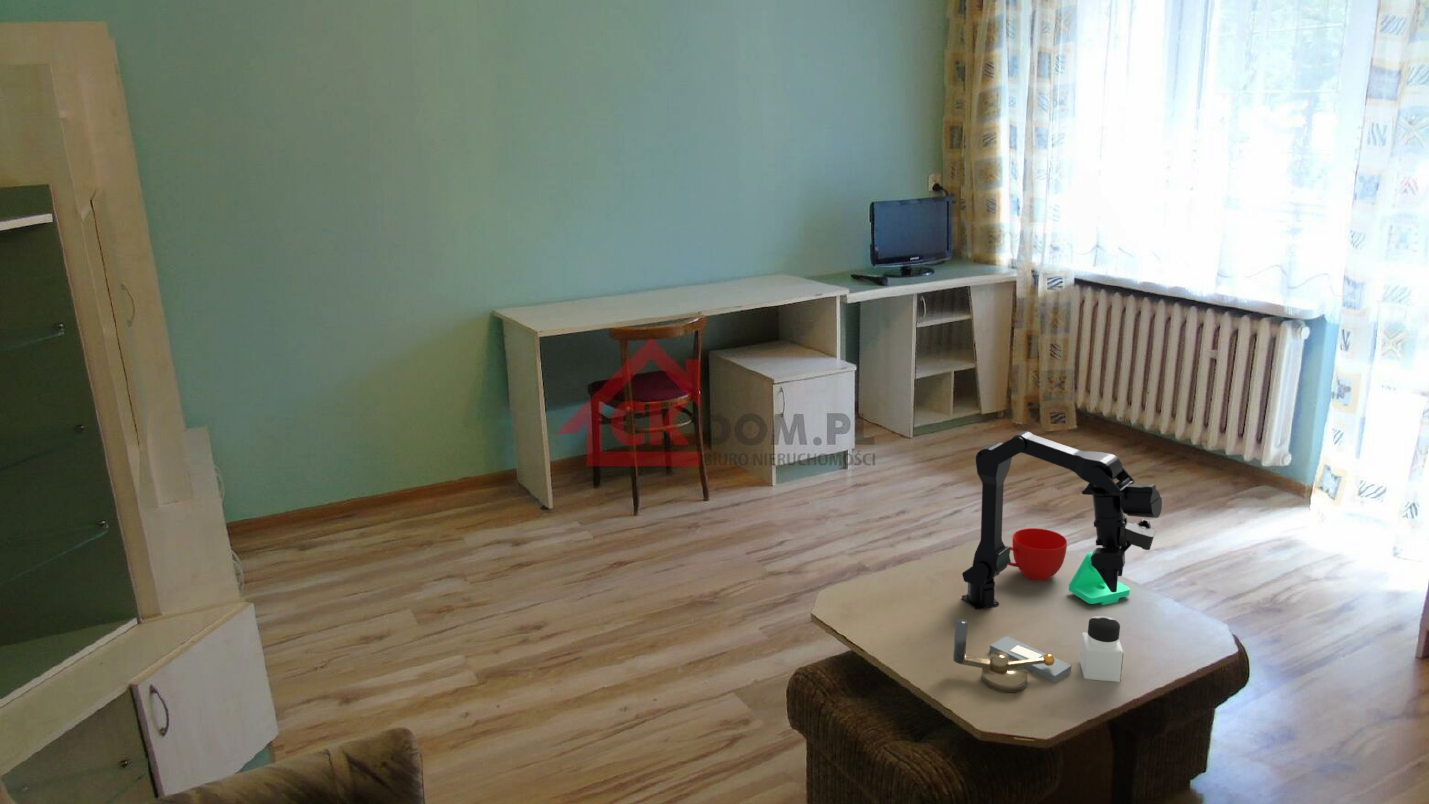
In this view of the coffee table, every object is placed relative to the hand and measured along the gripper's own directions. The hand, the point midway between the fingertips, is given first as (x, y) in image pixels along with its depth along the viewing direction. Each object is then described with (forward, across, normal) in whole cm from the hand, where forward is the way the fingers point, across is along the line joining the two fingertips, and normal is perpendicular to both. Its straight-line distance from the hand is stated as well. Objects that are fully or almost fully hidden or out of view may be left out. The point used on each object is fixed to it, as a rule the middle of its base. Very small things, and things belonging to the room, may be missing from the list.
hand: (1116, 583), depth 213 cm
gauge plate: (+13, -13, +17) cm, 25 cm away
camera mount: (+13, +24, +8) cm, 28 cm away
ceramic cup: (+9, +27, +25) cm, 38 cm away
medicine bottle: (+15, -11, +4) cm, 19 cm away
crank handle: (+12, -22, +21) cm, 33 cm away
